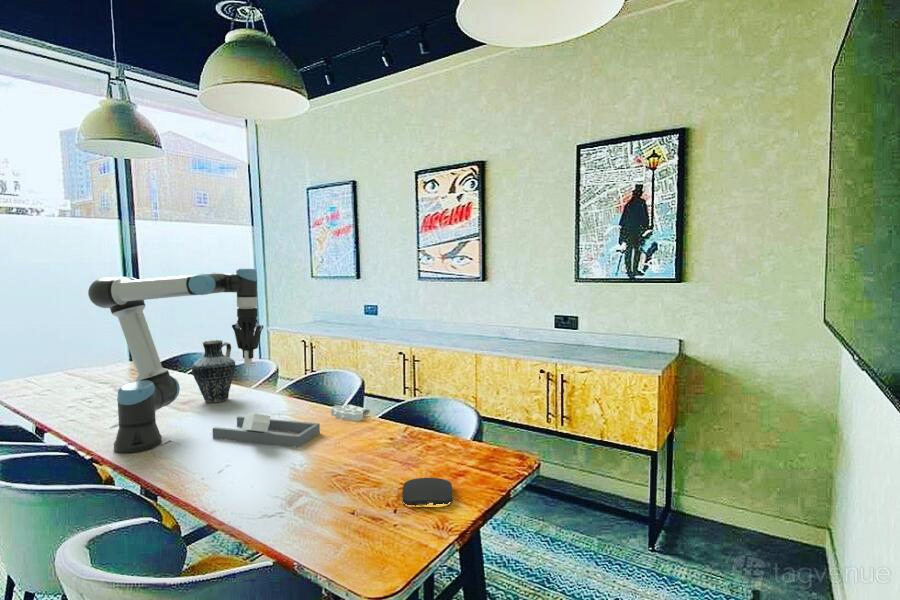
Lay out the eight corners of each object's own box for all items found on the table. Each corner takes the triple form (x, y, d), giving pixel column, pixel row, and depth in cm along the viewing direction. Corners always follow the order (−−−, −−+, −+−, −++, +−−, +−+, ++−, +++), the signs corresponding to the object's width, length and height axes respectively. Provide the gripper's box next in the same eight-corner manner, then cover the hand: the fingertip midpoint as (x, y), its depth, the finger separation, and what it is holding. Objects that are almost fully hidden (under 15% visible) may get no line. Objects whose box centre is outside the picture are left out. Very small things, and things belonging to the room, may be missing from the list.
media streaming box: (451, 485, 154) (451, 476, 153) (453, 509, 139) (453, 498, 139) (404, 486, 153) (404, 476, 153) (401, 509, 138) (401, 499, 138)
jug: (219, 407, 233) (217, 345, 231) (183, 404, 237) (181, 343, 235) (245, 396, 254) (244, 338, 251) (212, 393, 257) (211, 337, 255)
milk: (256, 431, 200) (269, 432, 182) (241, 430, 197) (252, 430, 179) (260, 416, 202) (272, 415, 184) (244, 414, 199) (255, 413, 181)
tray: (298, 447, 184) (298, 436, 183) (212, 438, 192) (212, 428, 192) (319, 433, 199) (319, 423, 199) (239, 425, 208) (239, 416, 208)
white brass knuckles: (375, 416, 224) (351, 424, 212) (347, 408, 234) (323, 416, 222) (375, 408, 223) (350, 416, 212) (347, 402, 234) (323, 409, 222)
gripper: (267, 307, 196) (268, 365, 198) (239, 306, 199) (240, 363, 201) (255, 308, 189) (256, 369, 190) (226, 307, 192) (227, 367, 193)
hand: (248, 366), depth 196 cm, fingers closed
